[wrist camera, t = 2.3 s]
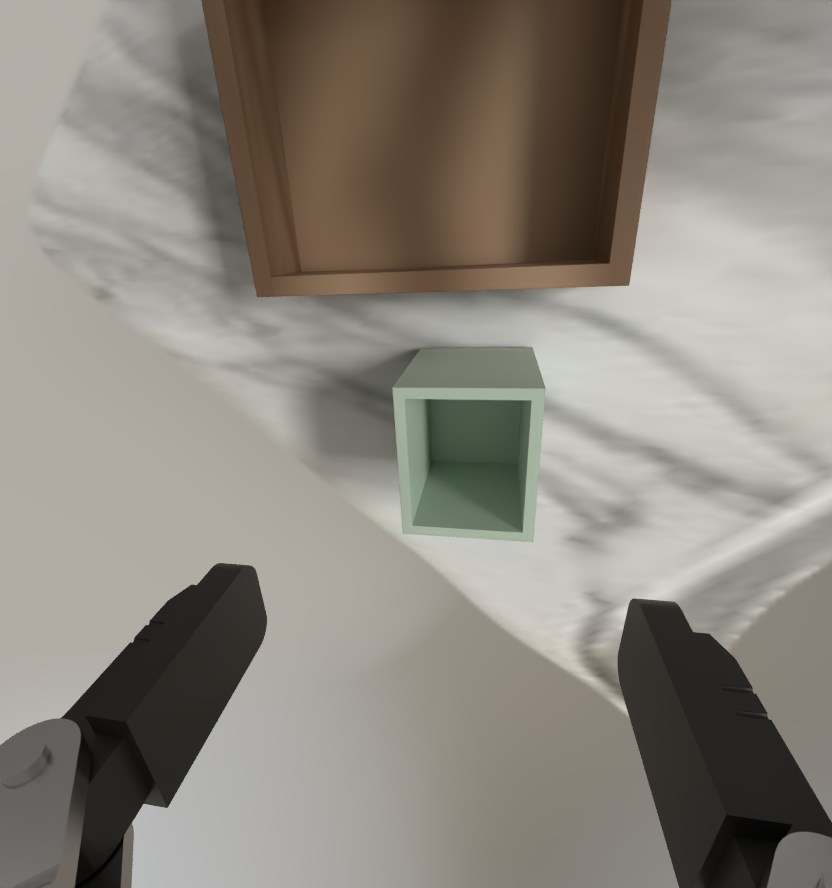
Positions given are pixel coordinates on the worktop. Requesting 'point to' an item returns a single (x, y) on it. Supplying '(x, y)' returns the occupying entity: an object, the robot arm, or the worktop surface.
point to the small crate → (469, 442)
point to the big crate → (438, 140)
